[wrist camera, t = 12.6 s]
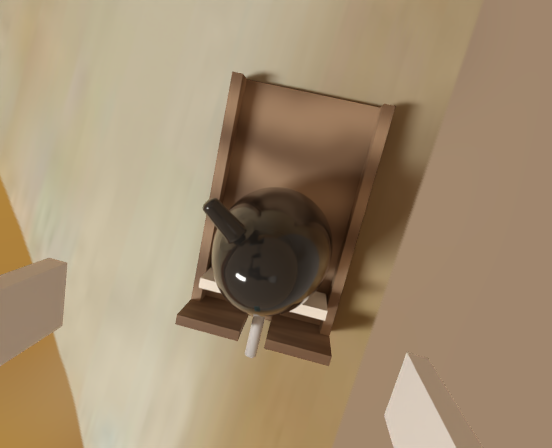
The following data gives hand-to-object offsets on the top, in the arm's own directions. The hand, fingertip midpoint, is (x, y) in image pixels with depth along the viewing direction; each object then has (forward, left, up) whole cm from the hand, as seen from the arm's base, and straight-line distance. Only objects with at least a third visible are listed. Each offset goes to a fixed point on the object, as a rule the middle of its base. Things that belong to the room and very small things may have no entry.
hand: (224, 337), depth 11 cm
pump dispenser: (+1, 0, -21) cm, 21 cm away
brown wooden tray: (-2, +1, -22) cm, 22 cm away
